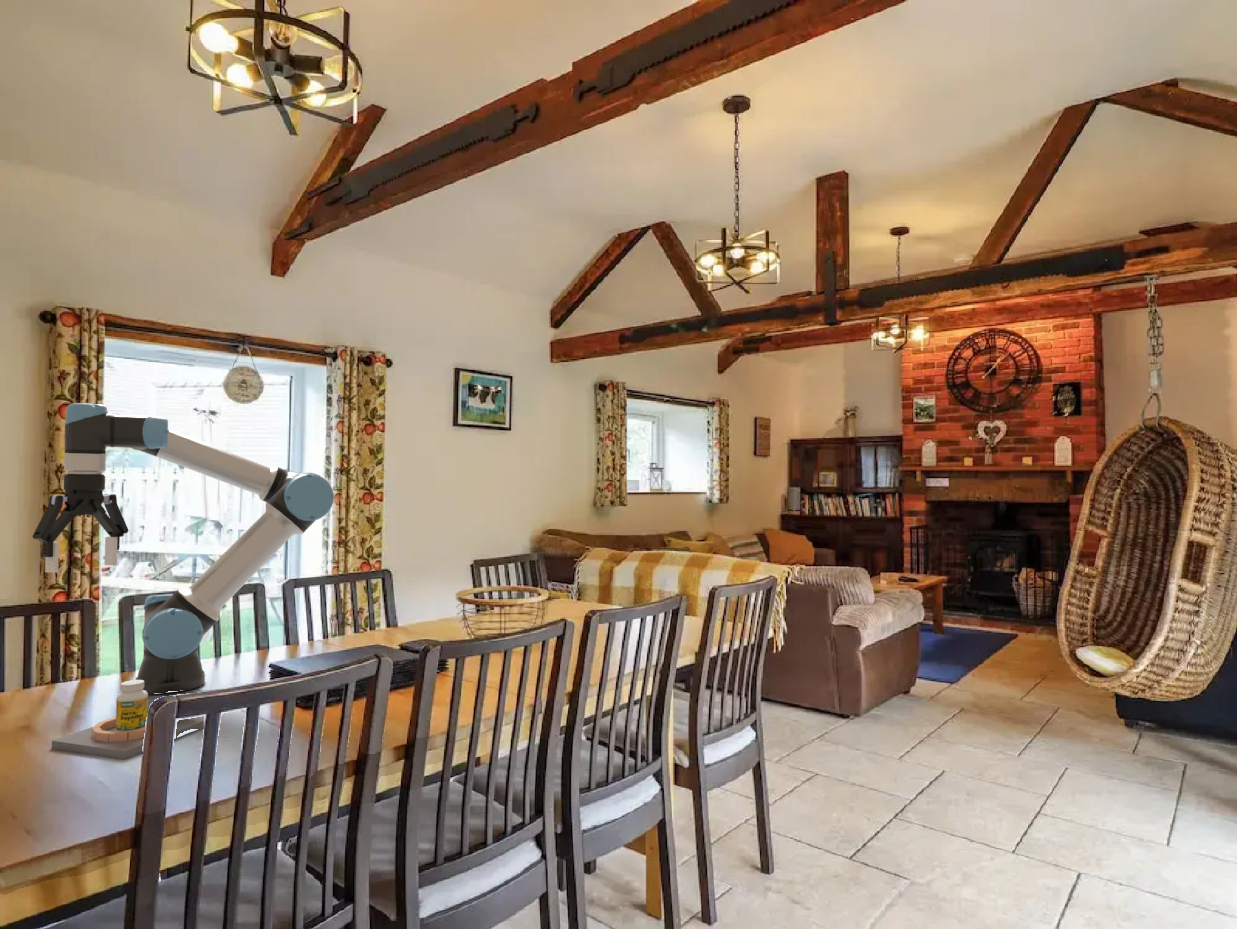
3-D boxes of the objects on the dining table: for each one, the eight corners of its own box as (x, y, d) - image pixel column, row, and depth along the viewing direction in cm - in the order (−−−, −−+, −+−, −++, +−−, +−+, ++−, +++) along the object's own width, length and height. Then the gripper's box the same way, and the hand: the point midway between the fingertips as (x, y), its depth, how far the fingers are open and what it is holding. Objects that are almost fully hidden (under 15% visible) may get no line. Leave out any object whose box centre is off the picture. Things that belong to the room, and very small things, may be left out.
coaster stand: (135, 719, 161) (135, 705, 161) (202, 728, 156) (203, 713, 156) (51, 748, 144) (52, 732, 144) (124, 759, 139) (125, 743, 139)
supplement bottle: (146, 723, 154) (148, 677, 154) (148, 731, 149) (149, 683, 150) (115, 728, 151) (116, 680, 151) (115, 736, 146) (117, 687, 146)
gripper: (122, 473, 179) (120, 561, 179) (13, 472, 155) (10, 574, 155) (147, 473, 177) (145, 563, 177) (40, 472, 153) (37, 576, 153)
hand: (82, 568), depth 166 cm, fingers open, 13 cm apart
